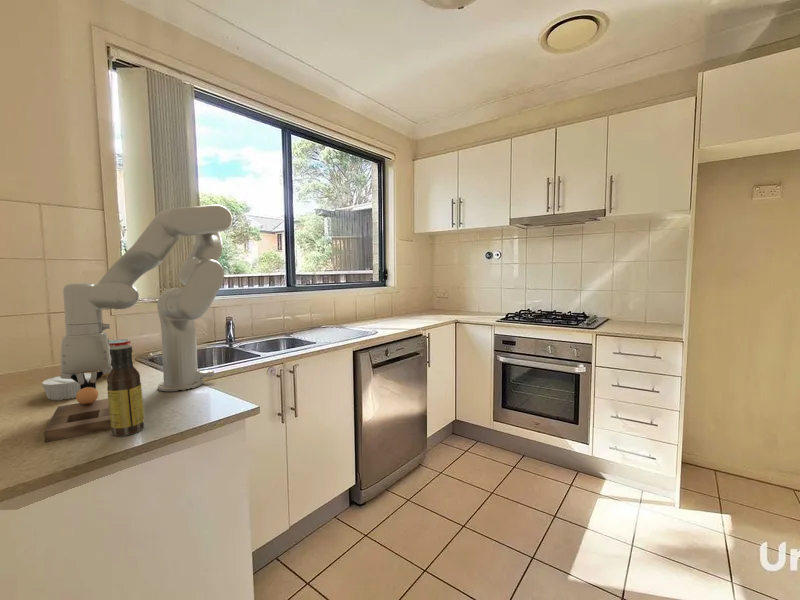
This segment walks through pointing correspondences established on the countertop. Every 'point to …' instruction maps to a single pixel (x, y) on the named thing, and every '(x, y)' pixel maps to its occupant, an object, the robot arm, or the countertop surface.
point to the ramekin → (62, 387)
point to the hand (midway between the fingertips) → (88, 396)
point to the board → (78, 420)
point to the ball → (87, 395)
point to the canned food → (118, 343)
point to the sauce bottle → (124, 393)
